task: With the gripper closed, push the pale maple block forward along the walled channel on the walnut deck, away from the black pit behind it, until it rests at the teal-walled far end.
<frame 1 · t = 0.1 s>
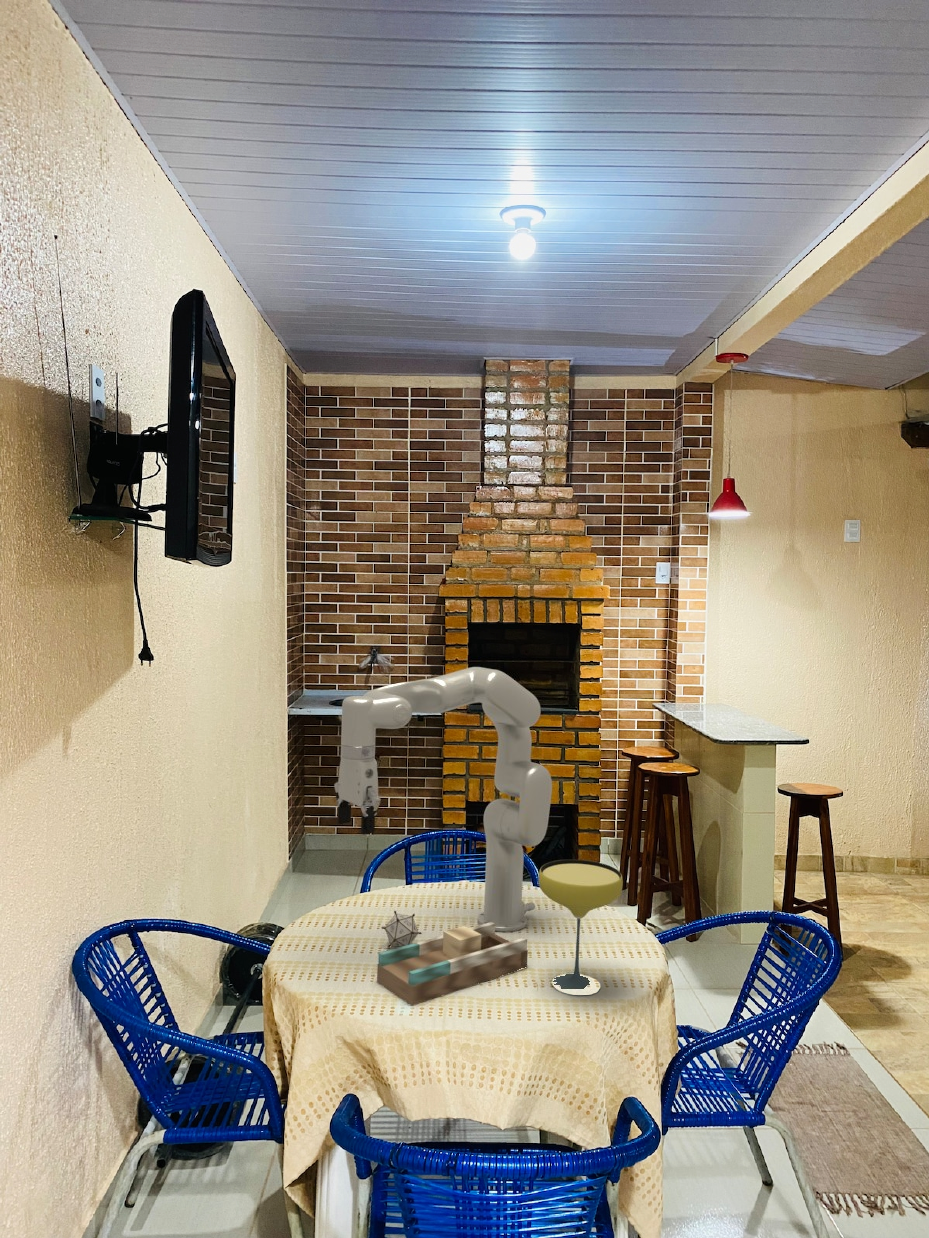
hand: (355, 828, 204), 31 cm above the table, tool pointing down, fingers open, 9 cm apart
maple block: (461, 954, 204), point 4 cm above the table, touching trap deck
trap deck: (453, 974, 203), on the table
cocktail glass: (576, 985, 200), on the table
game die: (401, 947, 217), on the table
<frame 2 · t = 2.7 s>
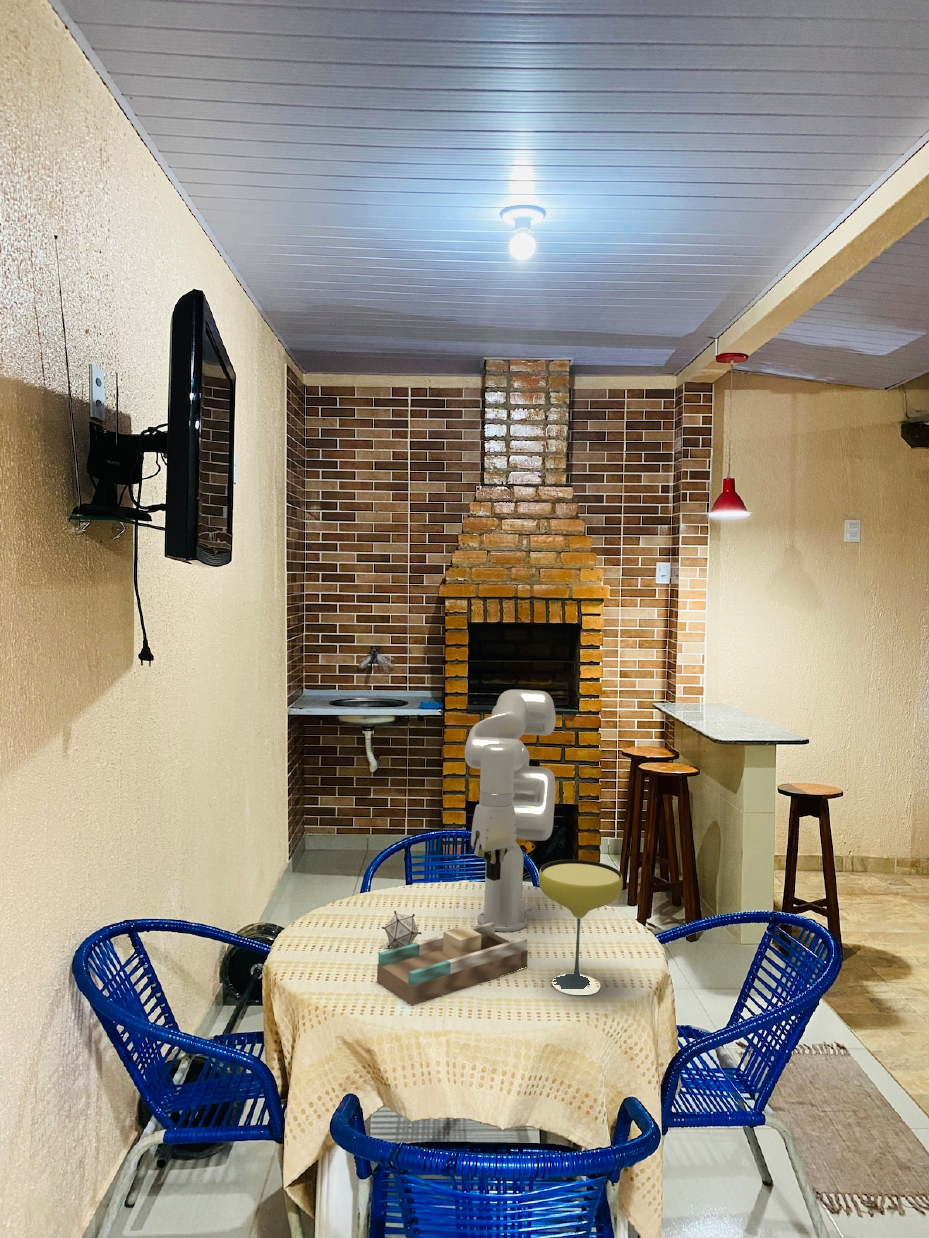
hand: (493, 878, 208), 20 cm above the table, tool pointing down, fingers closed
nothing on the table moved.
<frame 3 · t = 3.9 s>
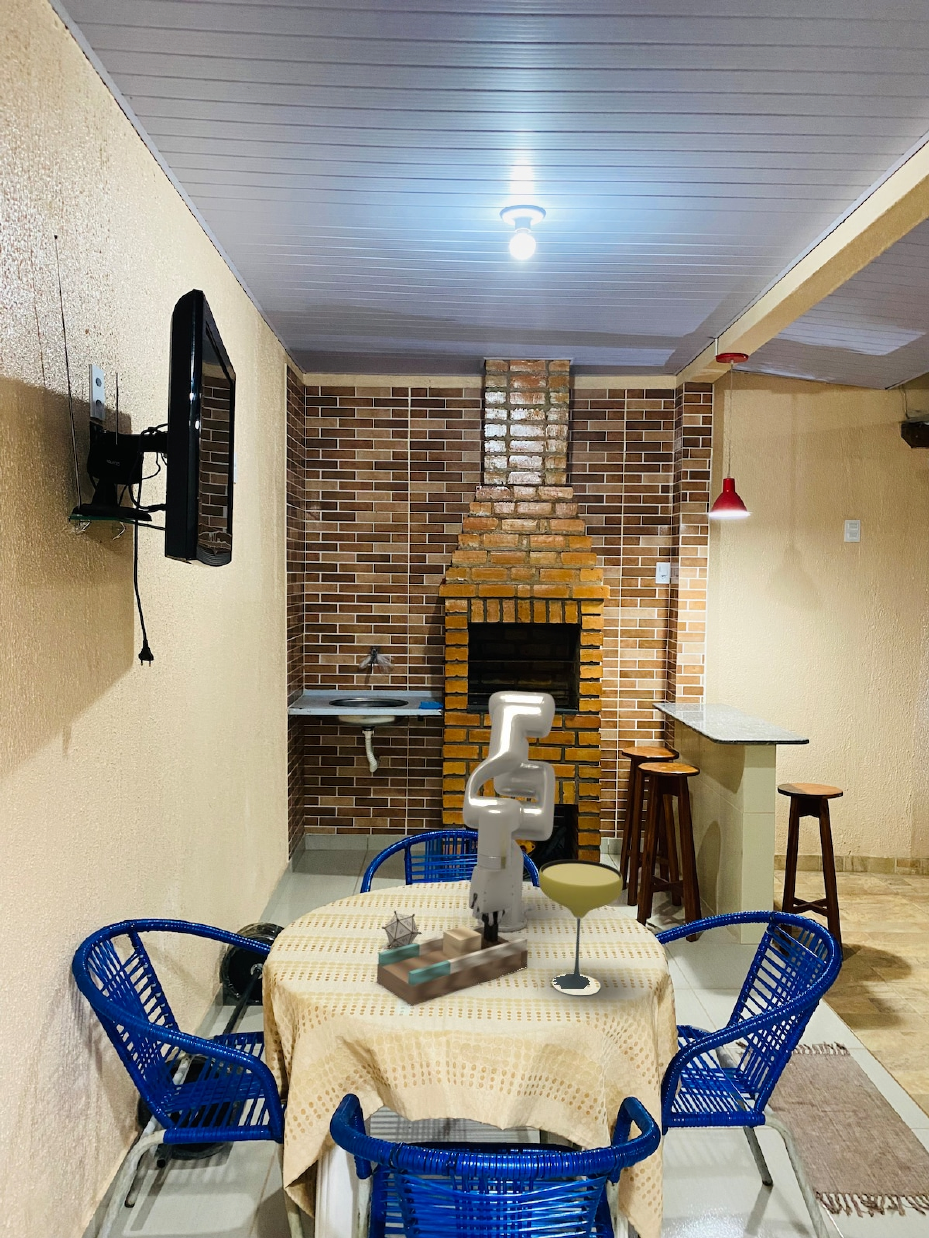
hand: (490, 939, 209), 6 cm above the table, tool pointing down, fingers closed
nothing on the table moved.
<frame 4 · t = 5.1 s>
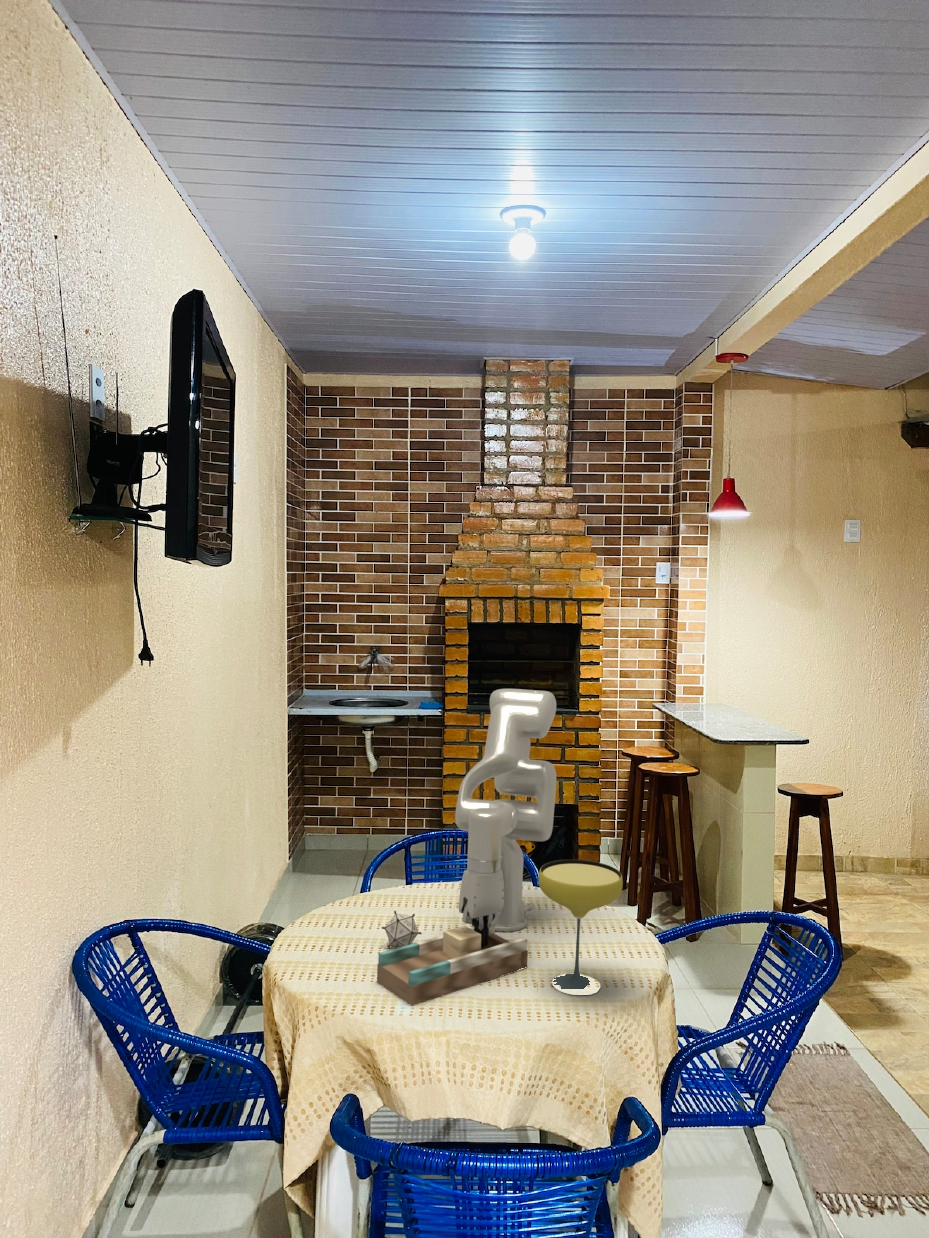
hand: (480, 944, 207), 5 cm above the table, tool pointing down, fingers closed
maple block: (461, 954, 204), point 4 cm above the table, touching gripper
everything else where it was.
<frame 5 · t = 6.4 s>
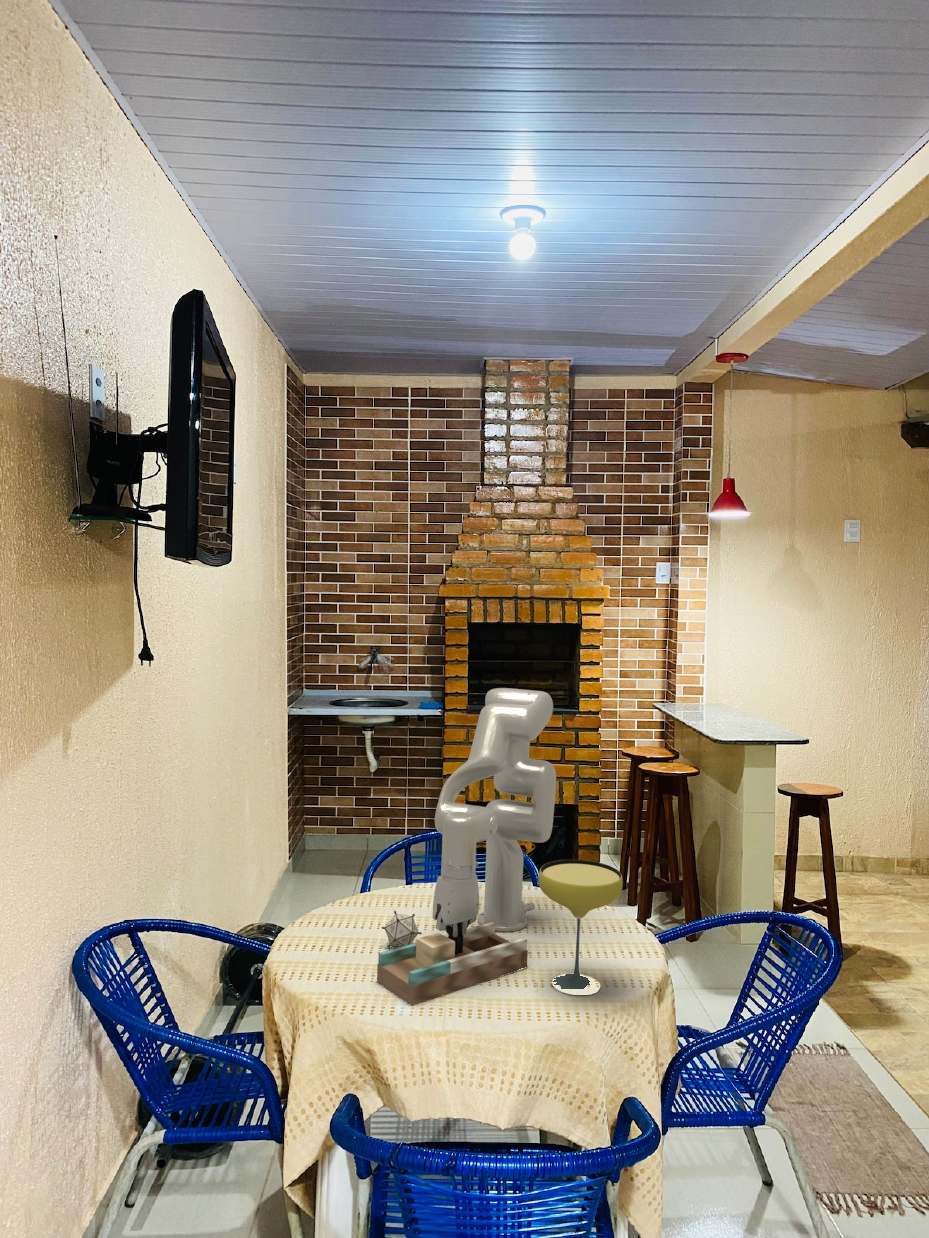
hand: (455, 951, 203), 5 cm above the table, tool pointing down, fingers closed
maple block: (435, 962, 199), point 4 cm above the table, touching gripper
everything else where it was.
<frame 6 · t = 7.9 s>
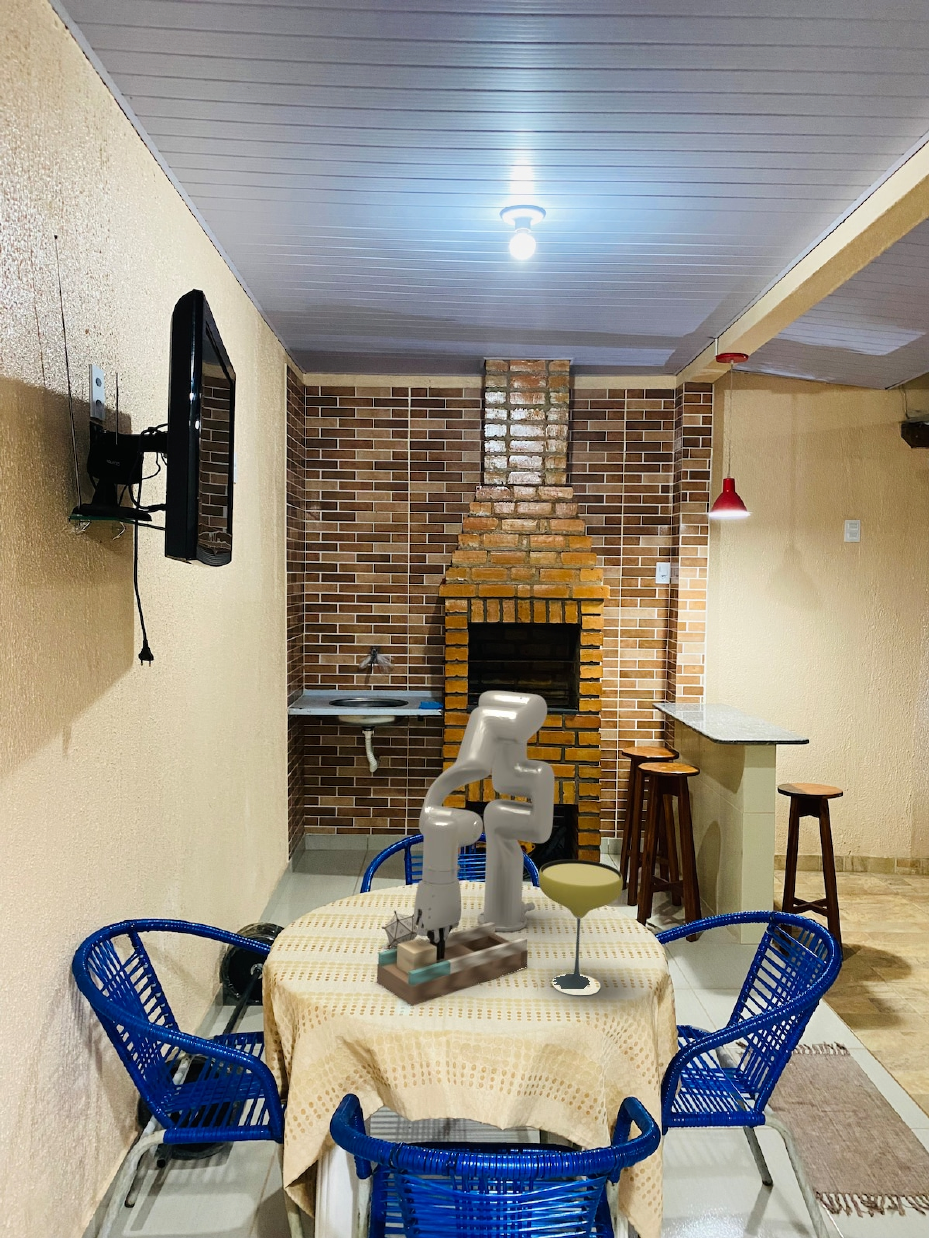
hand: (437, 957, 199), 5 cm above the table, tool pointing down, fingers closed
maple block: (416, 968, 196), point 4 cm above the table, touching gripper, trap deck
everything else where it was.
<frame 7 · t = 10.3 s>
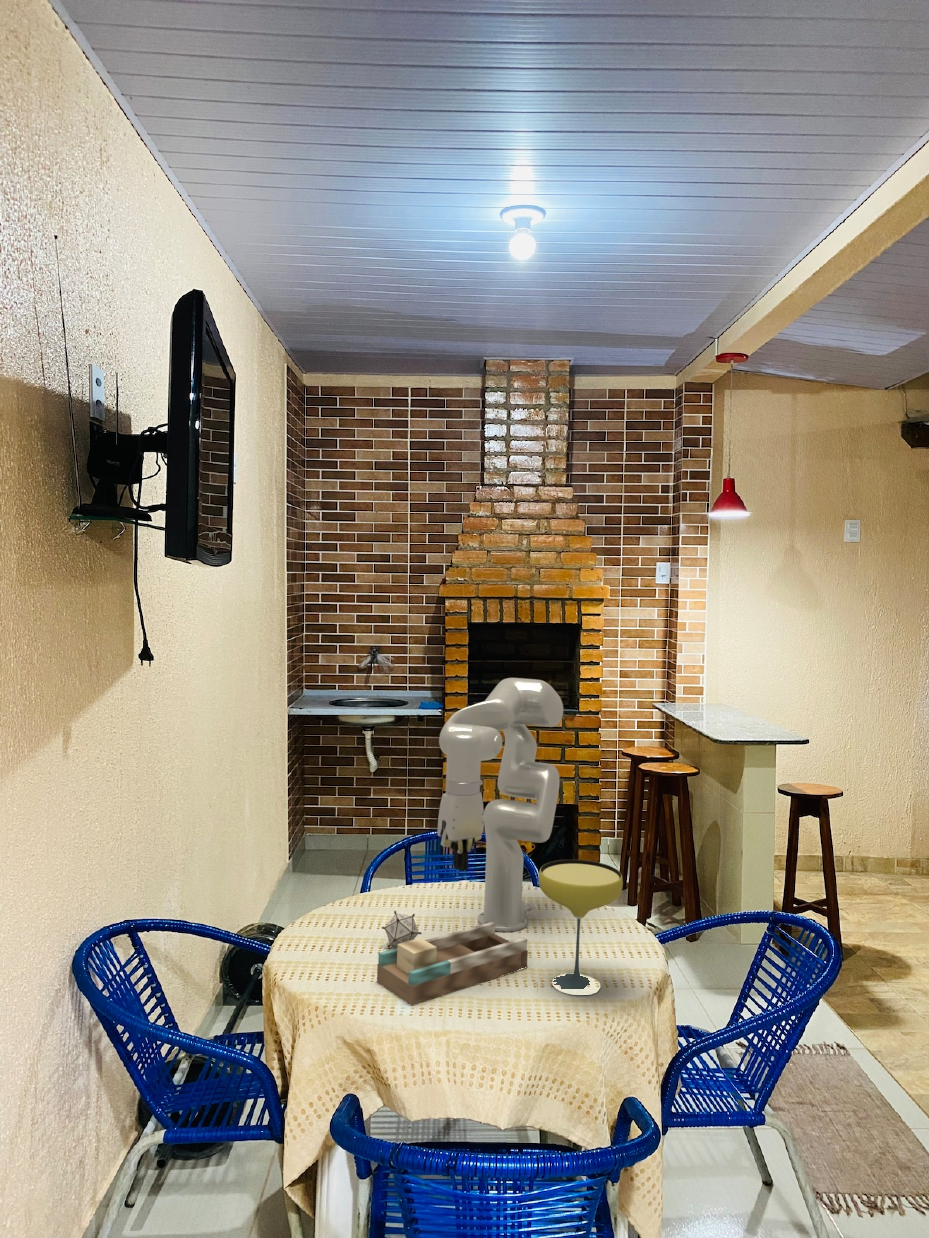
hand: (460, 868, 203), 23 cm above the table, tool pointing down, fingers closed
maple block: (416, 968, 196), point 4 cm above the table, touching trap deck
everything else where it was.
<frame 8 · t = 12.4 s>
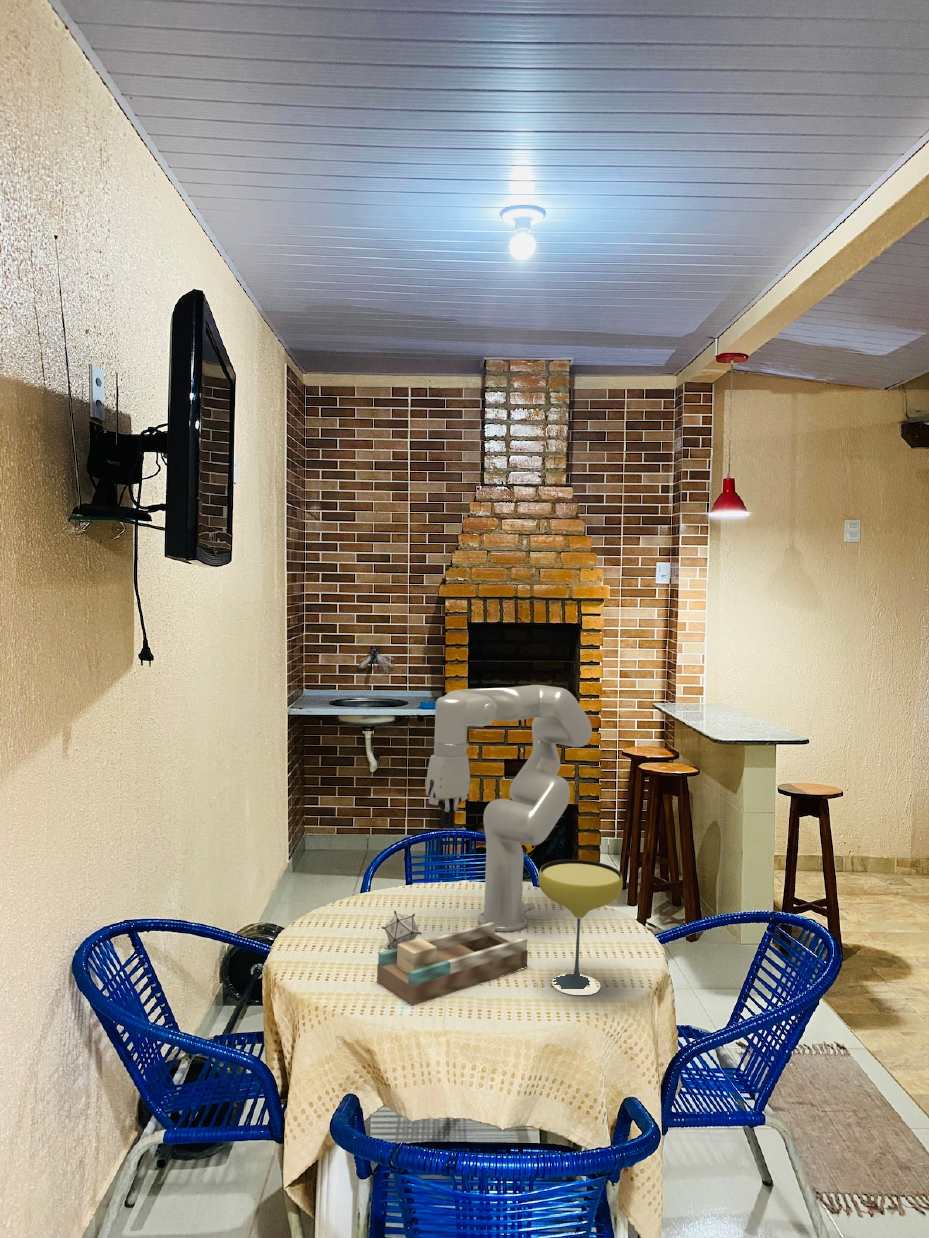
hand: (447, 826, 216), 29 cm above the table, tool pointing down, fingers closed
nothing on the table moved.
at the end: maple block inside the target area (0.4 cm from its centre), point 4.0 cm above the table; maple block tilted 0° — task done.
